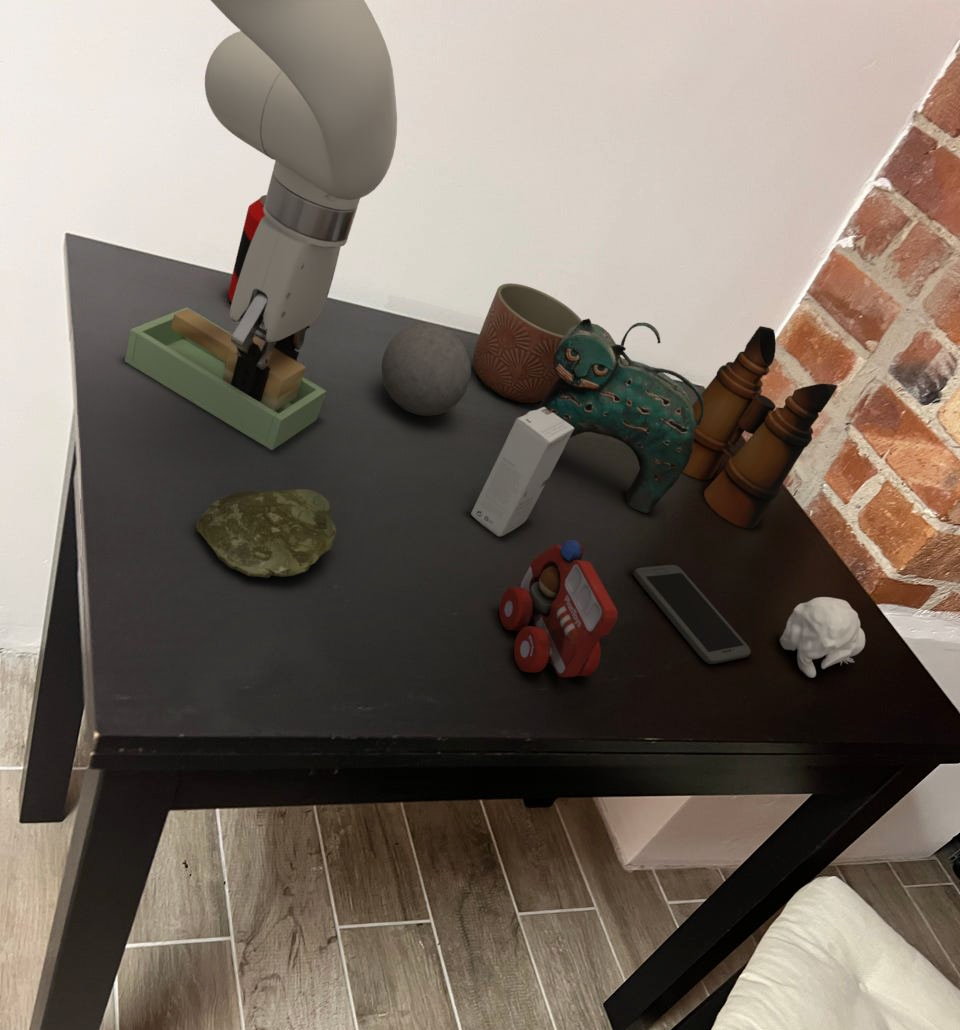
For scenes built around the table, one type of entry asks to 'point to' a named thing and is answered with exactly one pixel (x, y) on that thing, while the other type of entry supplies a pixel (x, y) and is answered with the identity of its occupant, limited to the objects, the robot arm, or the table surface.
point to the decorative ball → (426, 369)
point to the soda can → (246, 240)
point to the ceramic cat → (625, 406)
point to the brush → (282, 367)
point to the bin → (216, 383)
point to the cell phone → (692, 614)
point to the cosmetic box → (521, 470)
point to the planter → (521, 342)
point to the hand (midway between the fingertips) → (260, 385)
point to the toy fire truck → (559, 613)
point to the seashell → (269, 531)
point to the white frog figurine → (823, 633)
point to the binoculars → (774, 437)
